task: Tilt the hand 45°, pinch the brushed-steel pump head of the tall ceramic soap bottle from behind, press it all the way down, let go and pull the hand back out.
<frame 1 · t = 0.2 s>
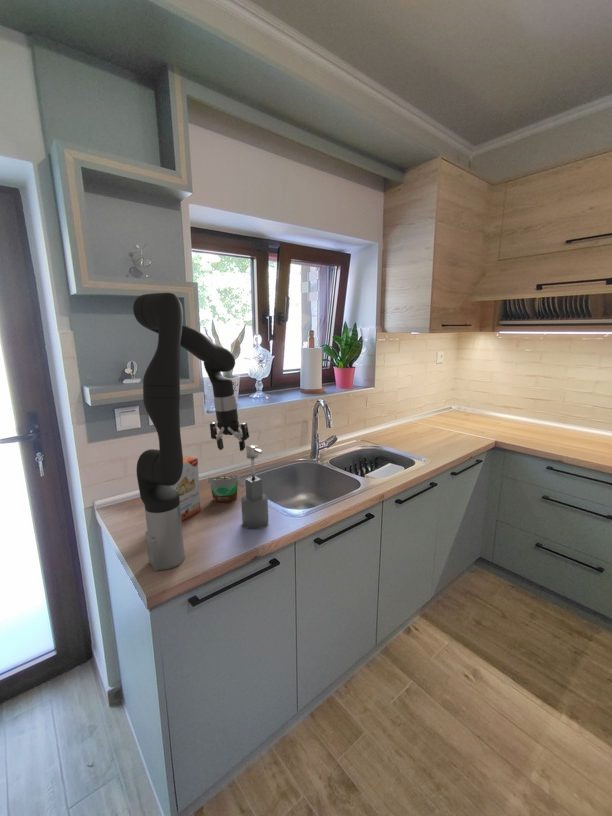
hand: (231, 449, 134), 23 cm above the worktop, tool pointing down, fingers open, 8 cm apart
cracker box: (181, 517, 131), on the worktop
pump head: (255, 465, 121), point 21 cm above the worktop, slide at 6.0 cm
food container: (225, 501, 143), on the worktop
soap bottle: (255, 522, 127), on the worktop
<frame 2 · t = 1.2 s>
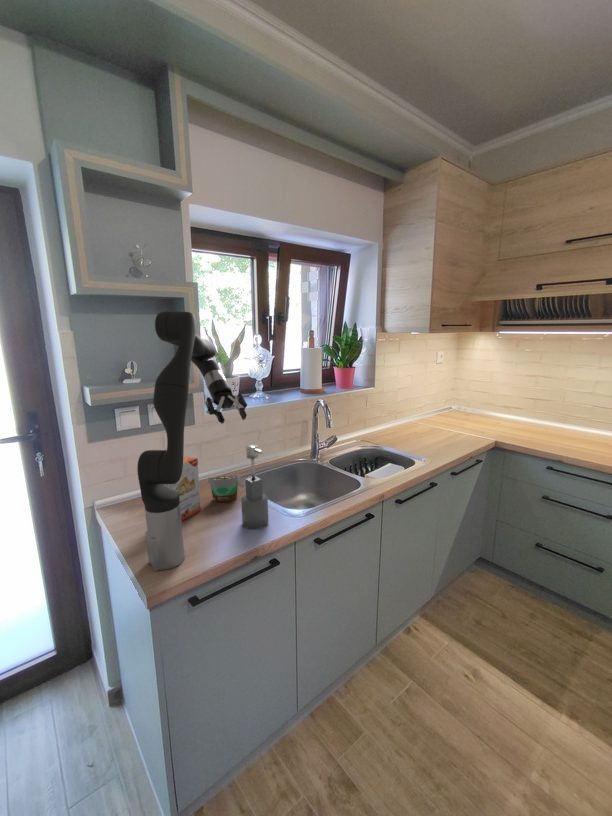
hand: (234, 420, 129), 35 cm above the worktop, tool tilted 45°, fingers open, 8 cm apart
nothing on the worktop moved.
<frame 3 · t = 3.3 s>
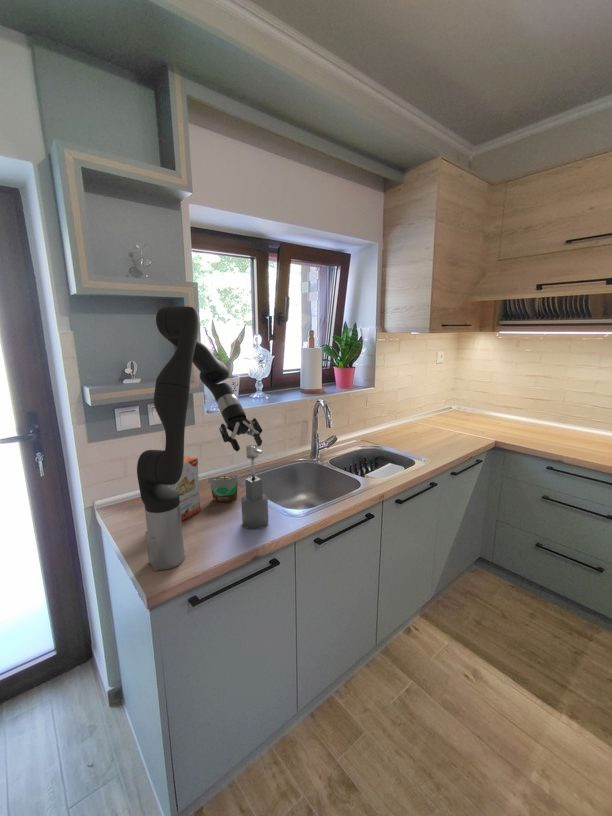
hand: (249, 447, 123), 27 cm above the worktop, tool tilted 45°, fingers open, 8 cm apart
nothing on the worktop moved.
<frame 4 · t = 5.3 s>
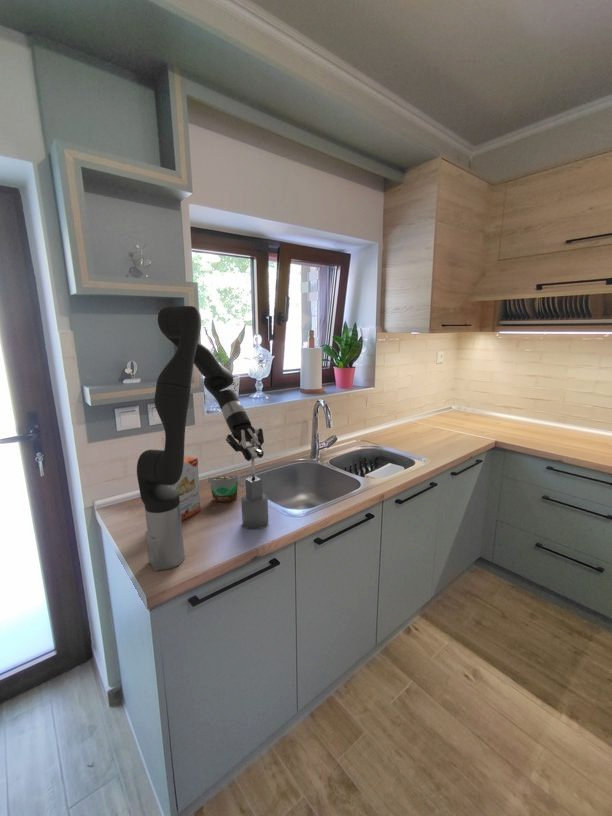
hand: (255, 458, 121), 24 cm above the worktop, tool tilted 45°, fingers closed on pump head, 4 cm apart
pump head: (255, 465, 121), point 21 cm above the worktop, slide at 6.0 cm, touching gripper
everything else where it was.
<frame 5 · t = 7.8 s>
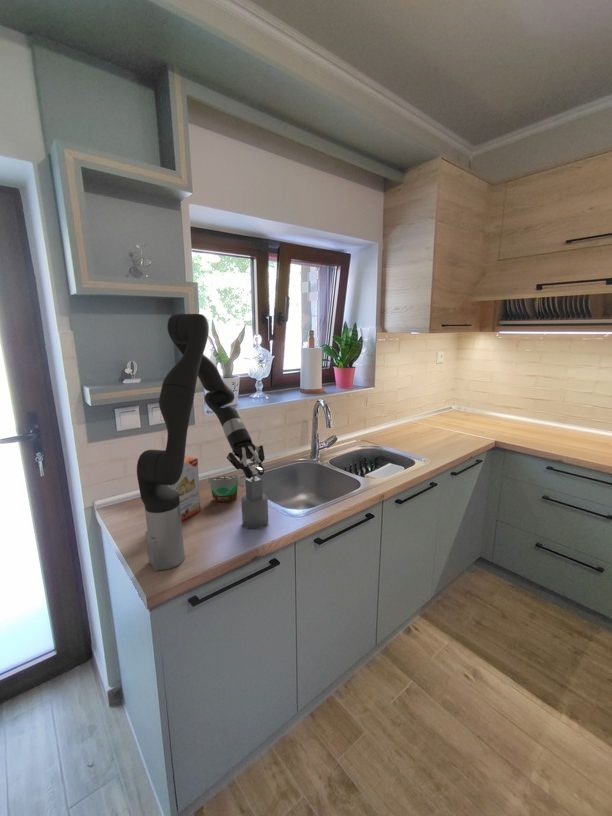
hand: (256, 475, 122), 18 cm above the worktop, tool tilted 45°, fingers closed on pump head, 4 cm apart
pump head: (256, 482, 122), point 15 cm above the worktop, slide at -0.2 cm, touching gripper
everything else where it was.
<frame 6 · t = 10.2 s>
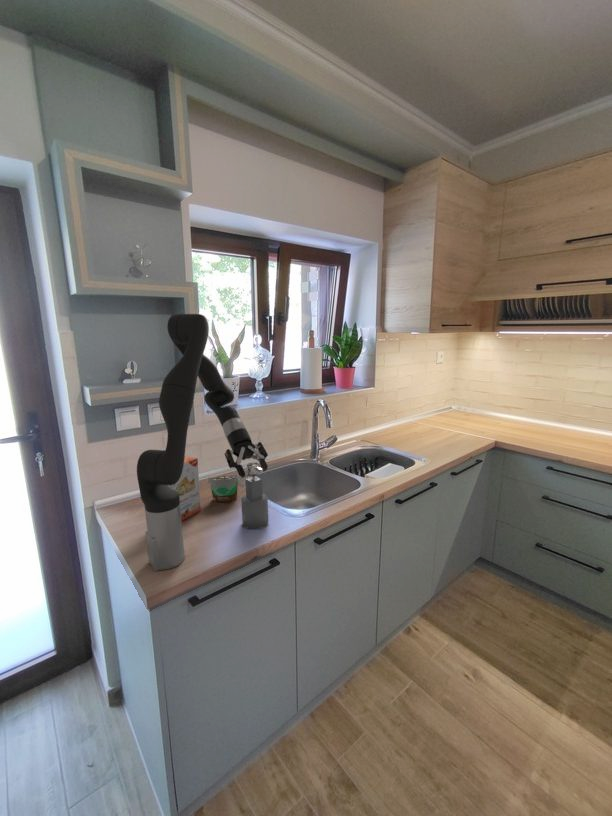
hand: (255, 473, 122), 19 cm above the worktop, tool tilted 45°, fingers open, 8 cm apart
pump head: (256, 482, 122), point 15 cm above the worktop, slide at -0.2 cm
everything else where it was.
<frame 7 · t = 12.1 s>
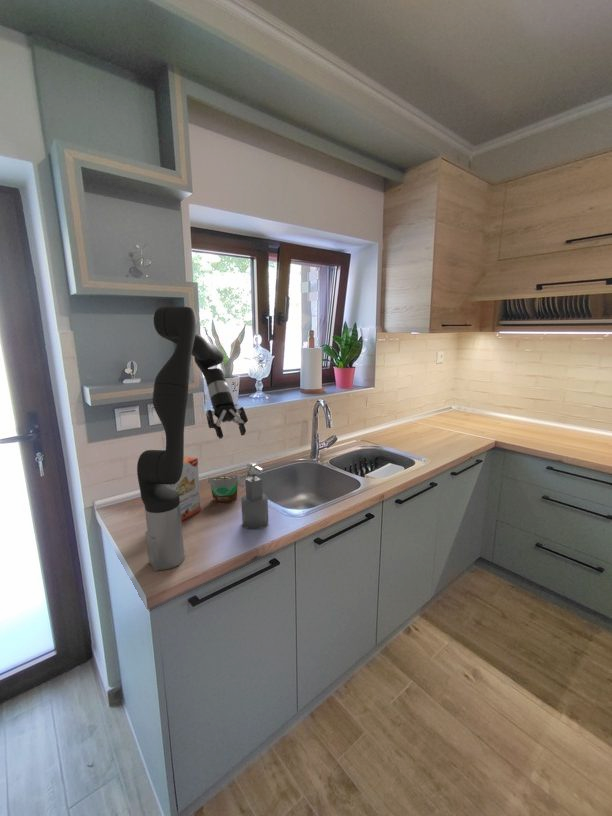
hand: (232, 436, 128), 29 cm above the worktop, tool tilted 35°, fingers open, 8 cm apart
nothing on the worktop moved.
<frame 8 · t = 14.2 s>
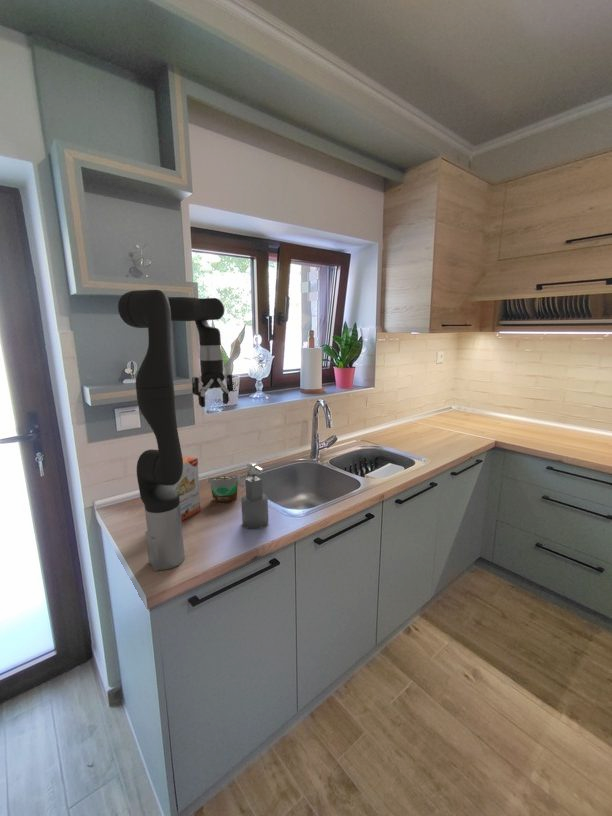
hand: (214, 405, 128), 40 cm above the worktop, tool pointing down, fingers open, 8 cm apart
nothing on the worktop moved.
at the end: pump head slide at -0.2 cm; the gripper is holding nothing; food container moved 0.2 cm from its start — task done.
